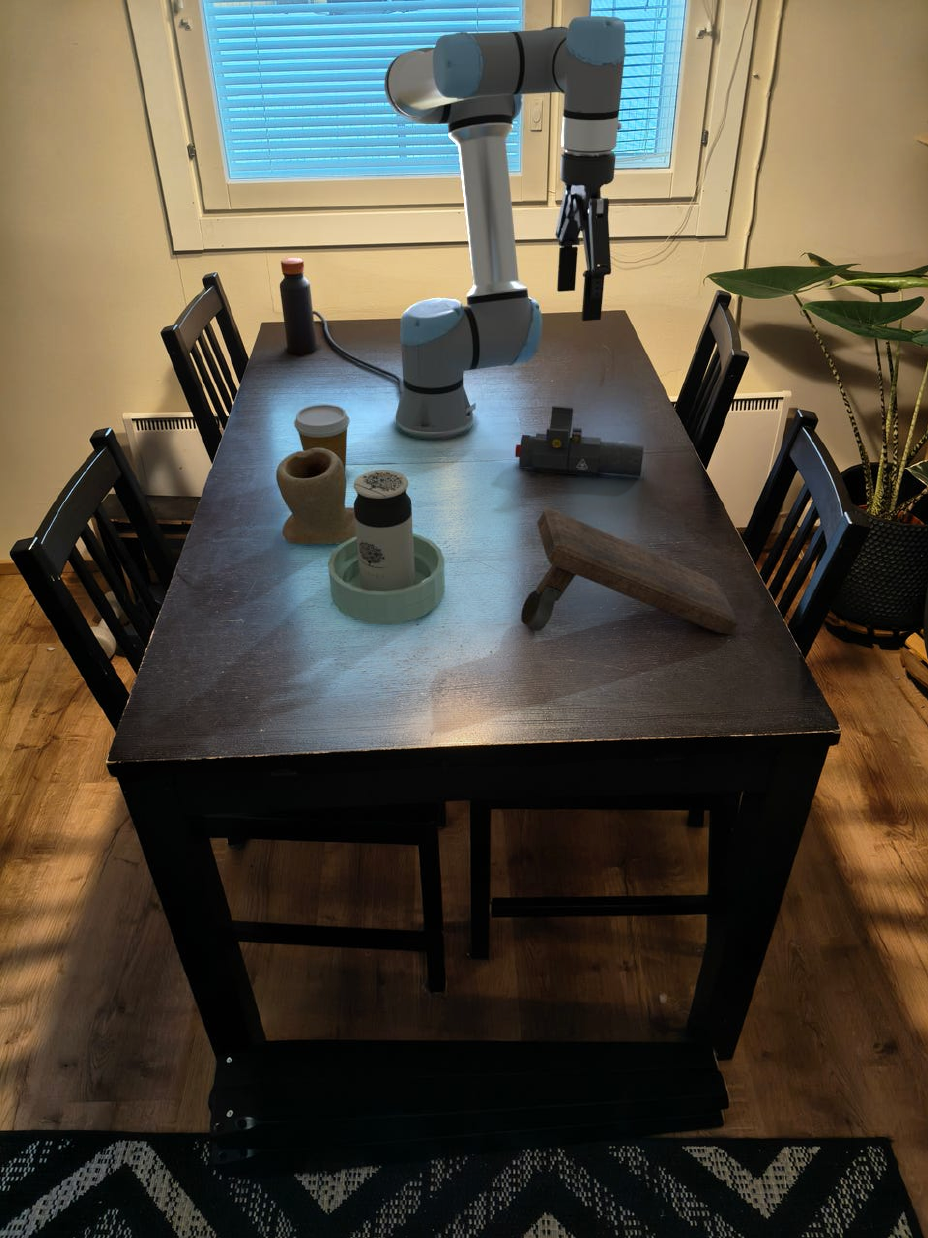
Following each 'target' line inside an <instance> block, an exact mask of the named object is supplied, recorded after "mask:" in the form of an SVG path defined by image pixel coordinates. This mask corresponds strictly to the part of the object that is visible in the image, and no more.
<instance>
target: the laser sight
mask: <svg viewBox="0 0 928 1238" xmlns="http://www.w3.org/2000/svg"><path fill="white" fill-rule="evenodd" d="M573 415H574V407H573V406H559V405H557V406H556V405H552V406H551V417H550V424H549V427H546V432H545V433H537V432H536V433H535V434H536V435H535V436H534V435H530V434H522V435H521V439H520V444H516V445H515V453H514V455H515V456H514V457H515V458H519V459H518V460H519V461H518V464H519V468H525V469H528V468H532V470H533V472H542V473H543V472H544V473H554V474H568V475H569V474H570V475H581V476H593V477H597V476H598V474H607V475H608V474H609V475H622V476H636V477H641V475H642V474H641V473H642V466H643V458H644V447H645V444H644V443H630V442H629V443H628V442H617V441H616V442H615V441H602V439H601V437H594V436H582V435H583V427H573Z"/></svg>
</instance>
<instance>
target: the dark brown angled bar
mask: <svg viewBox="0 0 928 1238" xmlns="http://www.w3.org/2000/svg"><path fill="white" fill-rule="evenodd" d="M536 524H537V528H538V531H539V535H540V538H541V543H542V546H543V549H544V553H545V556H546V559H547V561H548V563H549V564H550V565H551V566H550V567H549V569H548V570H547V571H546V572H545V574H544V576H543V577H542V579H541V581H540V582H539V583H538V585H537V587H536V589H534V590H532V591H531V592H530V593H529V594H528V595H527V597H526V598H525V601H524V603H523V605H522V609H521V613H520V615H521V616H520V619H521V620H520V621H521V623H522V624H523V625H524V626H526V627H528V628H531V629H533V630H536V631H541V630H543V629H544V628H545V627H546V626H547V624H548V623H549V622H550V620H551V617H552V614H553V611H554V607H555V603H556V602H557V601H559V600H560V598H561V597H562V596H563V594H564V593H565V591H566V590H567V589H568V587H569V586H570V584H571V583H572V581H573V580H574V579H575V577H576V576H577V577H578V576H579V577H581V578H583V579H586V580H588V581H591V582H592V583H595V584H597V585H600V586H603V587H605V588H608V589H610V590H613V591H614V592H617V593H620V594H622V595H624V596H627V597H630V598H632V599H635V600H637V601H639V602H642V603H644V604H647V605H649V606H652V607H654V608H656V609H659V610H661V611H664V612H666V613H669V614H671V615H674V616H675V617H678V618H681V619H683V620H685V621H688V622H690V623H692V624H695V625H698V626H700V627H702V628H705V629H708V630H710V631H712V632H715V633H718V634H727V635H730V634H731V633H732V632H733V631H734V630H735V628H736V627H737V626H738V625H739V621H738V618H737V615H736V613H735V612H734V610H733V608H732V606H731V604H730V603H729V601H728V598H727V596H726V595H725V593H724V591H723V589H722V587H721V586H720V584H719V583H717V581H715V580H714V579H713V578H711V577H709V576H707V575H705V574H702V573H700V572H697V571H696V570H693V569H691V568H688V567H686V566H684V565H681V564H680V563H677V562H674V561H672V560H671V559H668V558H665V557H663V556H661V555H658V554H656V553H655V552H651V551H649V550H646V549H645V548H643V547H640V546H638V545H636V544H633V543H631V542H628V541H626V540H624V539H622V538H619V537H617V536H614V535H613V534H610V533H608V532H606V531H603V530H601V529H599V528H596V527H594V526H592V525H590V524H588V523H585V522H583V521H581V520H578V519H576V518H573V517H571V516H569V515H566V514H564V513H562V512H559V511H557V510H556V509H553V508H551V507H550V508H546V509H544V510H543V512H542V513H541V515H540V516H539V518H538V520H537V523H536Z"/></svg>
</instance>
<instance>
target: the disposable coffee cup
mask: <svg viewBox="0 0 928 1238" xmlns="http://www.w3.org/2000/svg"><path fill="white" fill-rule="evenodd" d="M350 422H351V421H350V418H349V416H348V415H347V412H346V410H345V409H344V408H343V407H341V406H339V405H336V404H327V403H326V404H325V403H324V404H323V403H321V404H314V405H309V406H306V407H304V408H302V409H300V410H299V411H298V412H296V414H295V419H294V422H293V425H294V428H295V430H296V431H297V432H298V433H297V434H298V436H299V440H300V444H301V447H302V451H305V450H309V449H312V448H324V449H327V450H330V451H332V452H334V453H335V454H336V455H337V456H338V457H339V458H340V460H341V461H342V463H343V466H344V469H345V471H346V470H347V469H346V467H347V447H348V446H347V444H348V437H347V436H348V427H349V424H350Z"/></svg>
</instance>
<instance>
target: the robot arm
mask: <svg viewBox="0 0 928 1238" xmlns="http://www.w3.org/2000/svg"><path fill="white" fill-rule="evenodd" d="M626 53H627V52H626V24H625V22H624V20H623V19H621V18H620V17H616V16H607V15H606V16H605V15H603V16H601V15H591V16H586V15H585V16H577V17H574V18H572V19H571V21H570V22H569V24H568V26H567V27H566V26H550V27H545V28H542V29H535V30H533V29H532V30H514V31H513V30H511V31H500V32H499V31H498V32H497V31H496V32H493V31H492V32H467V31H461V32H455V33H452V34H451V33H450V34H444V35H441V36H439V38H437V40H436V41H435V46H434V47H422V48H417V49H413V50H409V51H406V52H404V53H401V54H400V55H398V56H396V57H395V58H394V59H393V60H392V61H391V62H390V64H389V66H388V67H387V69H386V72H385V76H384V93H385V97H386V100H387V102H388V103H389V105H390V108H392V110H393V111H394V112H395V113H396V114H397V115H399V116H400V117H402V118H404V119H406V120H408V121H411V122H413V123H417V124H420V125H447V131H448V132H447V133H448V137H449V139H451V140H452V141H453V143H455V144H456V146H458V153H459V154H458V155H459V164H460V172H461V173H460V174H461V181H462V191H463V200H464V211H465V219H466V227H467V228H466V229H467V230H466V231H467V237H468V247H469V248H468V249H469V258H470V266H471V275H472V284H473V285H472V286H471V289H470V290H469V292H468V293H467V294H466V305H465V306H464V305H463V303H462V302H461V301H460V300H458V299H456V298H453V297H445V298H443V297H434V298H428V299H424V300H421V301H418V302H416V303H414V304H412V305H410V306H409V307H408V308H407V309H406V310H404V312H403V313H402V315H401V317H400V334H399V341H400V344H401V346H400V347H401V349H400V350H401V367H402V378H401V377H400V376H399V375H397V374H395V373H393V372H391V371H388V370H386V369H383V368H380V367H379V366H377V365H374V364H372V363H370V362H368V361H365V360H363V359H361V358H359V357H357V356H355V355H353V354H351V353H349V352H348V351H346V350H344V348H342V347H341V346H339V345H338V344H337V343H336V341H334V340H333V337H331V334H330V332H329V328H328V322H327V320H325V318H324V317H323V316H322V314H320V313H319V312H318V311H316V310H313V316H316V317H317V318H318V319H319V320H320V321H321V322H322V324H323V326H324V327H323V330H324V333H325V336H326V338H327V339H328V341H329V343H330V344H331V345H332V346H333V347H334V348H335V349H336V350H337V351H338V352H340V353H341V354H343V355H344V356H346V357H347V358H349V359H351V360H353V361H355V362H357V363H359V364H361V365H363V366H366V367H367V368H370V369H372V370H374V371H377V372H379V373H381V374H384V375H386V376H388V377H391V378H393V379H394V380H396V381H397V382H398V383H399V392H400V398H399V400H398V405H397V409H396V412H395V426H396V428H397V430H398V431H399V432H400V433H402V434H403V435H404V436H407V437H409V438H412V439H413V438H414V439H417V440H424V441H443V440H449V439H453V438H457V437H459V436H462V435H464V434H466V433H468V431H470V430H471V429H472V427H473V425H474V413H473V412H474V411H475V410H476V409H477V408H476V407H477V404H476V402H474V403H473V404H470V401H469V398H468V395H467V391H466V389H465V387H464V386H465V385H464V373H465V372H468V371H474V370H481V369H486V368H487V369H488V368H496V367H504V366H514V365H515V364H516V365H517V364H521V363H526V362H528V361H530V360H532V359H533V357H534V356H536V354H537V351H538V348H539V347H540V343H541V339H542V332H543V317H542V316H543V315H542V311H541V310H540V305H539V303H538V301H537V300H536V299H534V298H532V297H529V292H528V291H529V290H528V288H527V286H526V285H524V284H523V283H522V282H521V281H520V279H519V271H518V270H519V269H518V259H517V248H516V247H517V246H516V236H515V227H514V226H515V225H514V215H513V214H514V213H513V205H512V193H511V181H510V171H509V160H508V159H509V158H508V151H507V137H508V136H509V135H510V134H511V132H512V131H513V129H514V120H515V119H517V118H518V117H519V115H520V113H521V112H522V111H521V110H522V106H523V101H522V99H523V95H531V94H532V95H534V94H549V93H559V94H560V93H561V94H563V96H564V97H563V113H562V123H561V124H562V126H561V144H560V145H561V147H562V148H563V149H564V151H562V153H561V154H560V168H559V169H560V172H559V173H560V174H559V178H560V180H561V182H562V183H563V193H562V194H563V195H562V200H561V204H560V209H559V214H558V220H557V223H556V230H555V238H556V240H557V239H558V241H557V243H558V247H559V250H558V267H557V269H558V270H557V286H556V287H557V288H556V291H557V292H558V293H563V292H575V291H576V281H577V268H578V267H577V265H578V249H579V248H578V247H577V246H580V245H581V242H580V237H579V236H580V233H582V241H583V248H584V249H583V250H584V256H585V257H584V258H585V264H586V265H585V266H586V269H585V270H584V271H583V272H582V277H583V279H584V281H583V293H582V307H581V321H582V322H592V321H593V322H594V321H601V320H602V311H603V297H604V285H605V276H608V275H609V276H610V275H611V274H612V262H611V244H610V243H611V242H610V225H609V224H610V223H609V208H610V207H609V206H610V200H609V198H608V197H602V195H601V194H602V193H601V189H602V187H603V186H604V185H609V184H611V183H612V182H613V180H614V178H615V168H616V154H615V152H614V151H613V150H615V149H616V148H617V141H618V140H617V139H618V131H620V130H621V128H622V124H621V122H620V121H619V117H620V107H621V96H622V86H623V76H624V66H625V58H626Z"/></svg>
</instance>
